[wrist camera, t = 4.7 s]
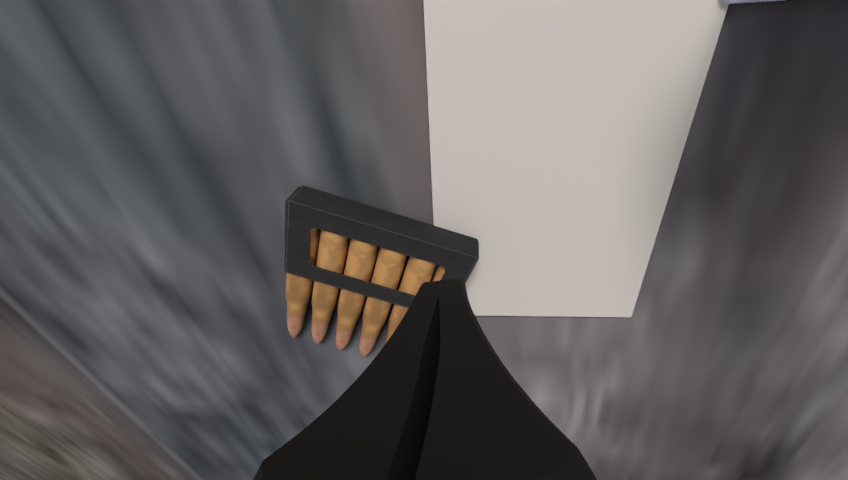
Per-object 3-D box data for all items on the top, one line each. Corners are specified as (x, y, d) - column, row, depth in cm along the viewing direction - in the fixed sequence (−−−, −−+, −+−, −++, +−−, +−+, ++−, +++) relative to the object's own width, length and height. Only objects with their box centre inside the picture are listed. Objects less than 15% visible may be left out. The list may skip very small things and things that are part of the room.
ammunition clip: (299, 184, 20) (286, 323, 27) (284, 199, 19) (275, 343, 26) (479, 239, 21) (423, 362, 28) (479, 258, 20) (420, 383, 26)
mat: (733, -26, 15) (738, -27, 14) (629, 314, 24) (631, 317, 23) (423, -4, 16) (423, -5, 15) (437, 312, 25) (437, 315, 25)
